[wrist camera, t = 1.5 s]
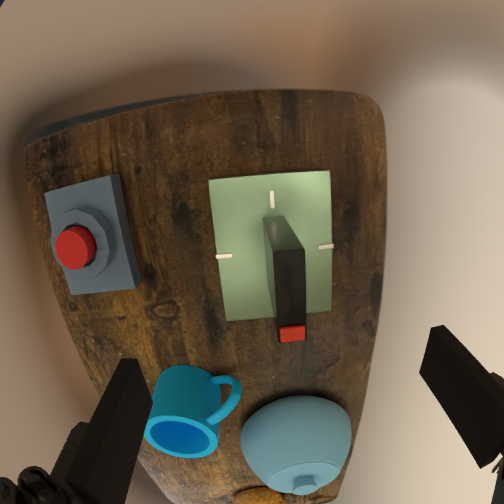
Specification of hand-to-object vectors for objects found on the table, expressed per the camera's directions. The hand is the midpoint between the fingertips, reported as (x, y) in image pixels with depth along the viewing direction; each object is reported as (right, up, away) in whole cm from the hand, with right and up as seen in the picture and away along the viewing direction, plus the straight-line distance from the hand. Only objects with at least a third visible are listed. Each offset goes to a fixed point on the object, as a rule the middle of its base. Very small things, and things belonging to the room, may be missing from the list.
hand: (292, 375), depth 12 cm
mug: (-8, -11, +22) cm, 26 cm away
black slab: (0, +5, +14) cm, 15 cm away
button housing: (-18, +7, +16) cm, 25 cm away
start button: (-17, +6, +13) cm, 22 cm away
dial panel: (0, +6, +17) cm, 18 cm away
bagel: (0, -43, +33) cm, 54 cm away
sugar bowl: (+4, -19, +25) cm, 32 cm away
